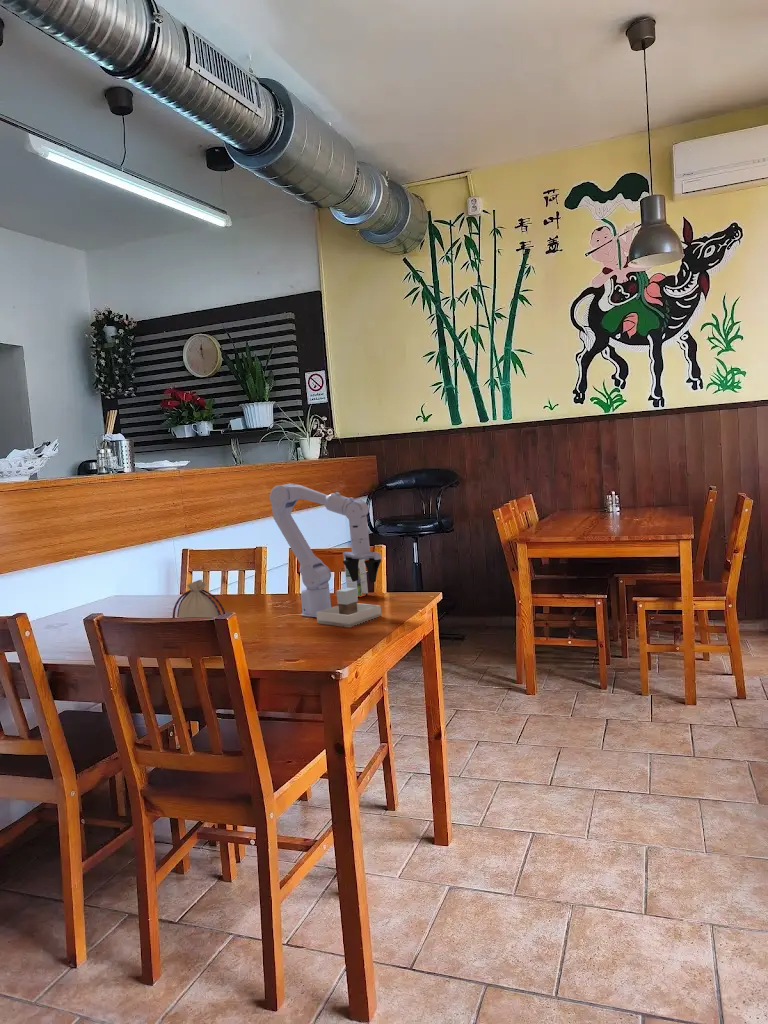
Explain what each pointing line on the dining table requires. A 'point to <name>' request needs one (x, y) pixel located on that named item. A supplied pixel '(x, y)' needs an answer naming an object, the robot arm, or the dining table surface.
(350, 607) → the walnut block
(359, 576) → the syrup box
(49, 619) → the dining table surface
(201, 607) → the pouch
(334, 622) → the tote
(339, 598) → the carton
